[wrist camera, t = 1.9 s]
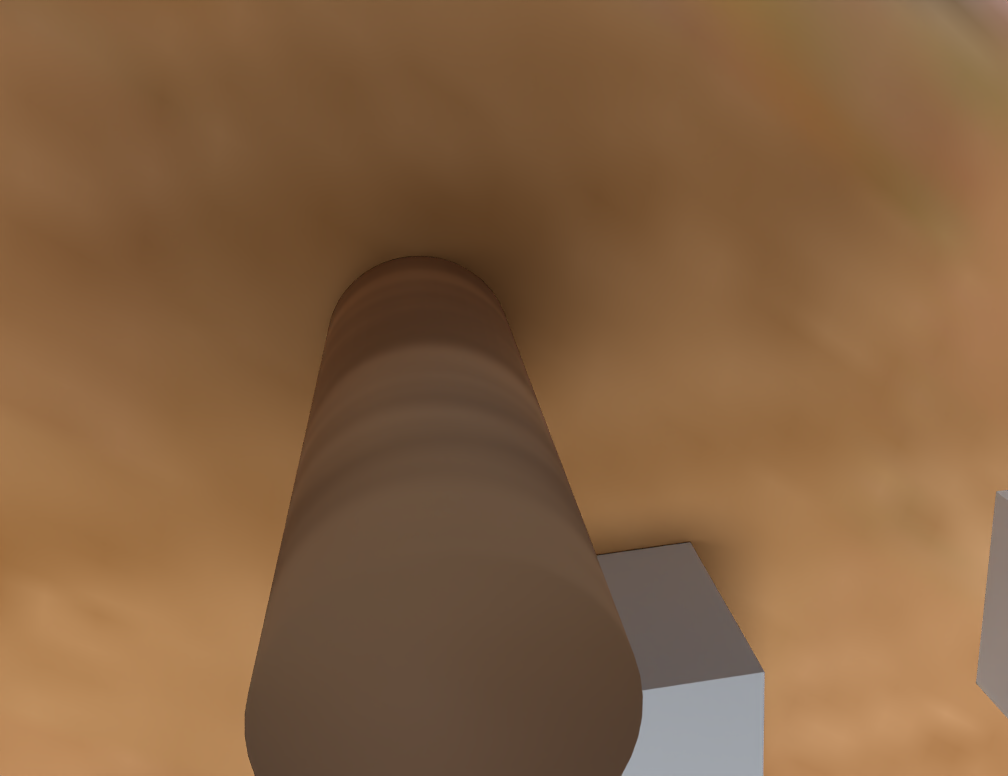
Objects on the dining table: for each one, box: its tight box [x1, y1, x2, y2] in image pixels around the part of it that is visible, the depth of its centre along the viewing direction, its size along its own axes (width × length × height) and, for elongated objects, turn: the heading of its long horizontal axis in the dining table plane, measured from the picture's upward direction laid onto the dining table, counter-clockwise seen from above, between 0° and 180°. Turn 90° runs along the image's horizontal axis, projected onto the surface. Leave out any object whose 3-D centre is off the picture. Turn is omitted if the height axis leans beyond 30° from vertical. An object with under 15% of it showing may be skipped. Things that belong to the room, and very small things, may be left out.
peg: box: [245, 256, 643, 776], centre depth 15 cm, size 4×4×12 cm
